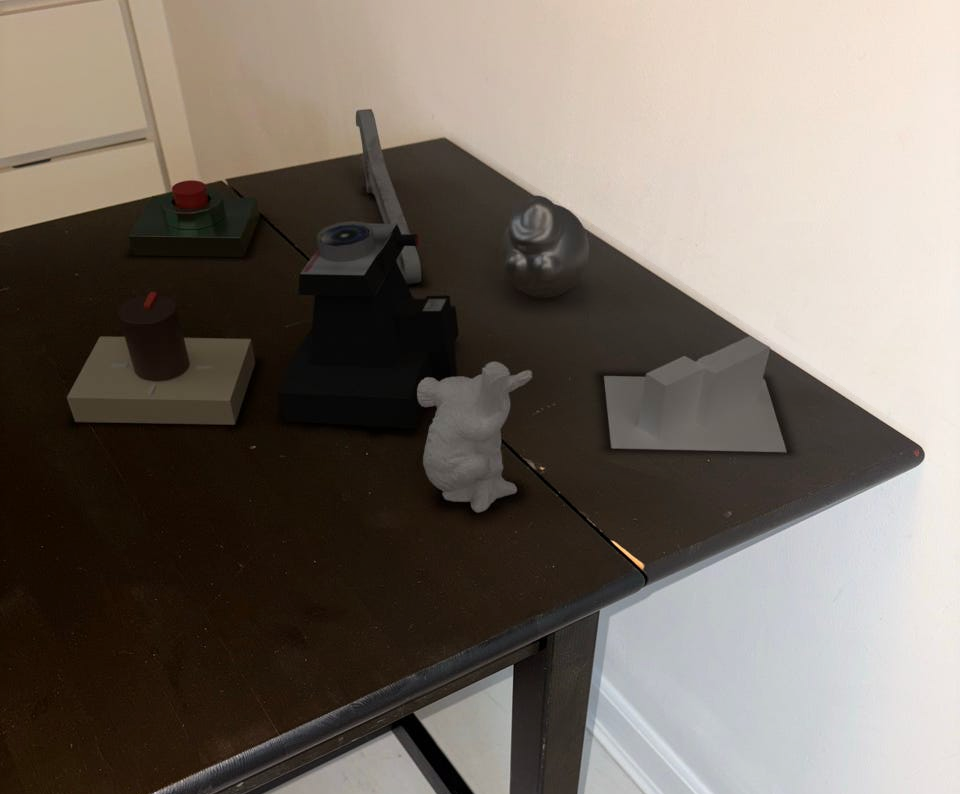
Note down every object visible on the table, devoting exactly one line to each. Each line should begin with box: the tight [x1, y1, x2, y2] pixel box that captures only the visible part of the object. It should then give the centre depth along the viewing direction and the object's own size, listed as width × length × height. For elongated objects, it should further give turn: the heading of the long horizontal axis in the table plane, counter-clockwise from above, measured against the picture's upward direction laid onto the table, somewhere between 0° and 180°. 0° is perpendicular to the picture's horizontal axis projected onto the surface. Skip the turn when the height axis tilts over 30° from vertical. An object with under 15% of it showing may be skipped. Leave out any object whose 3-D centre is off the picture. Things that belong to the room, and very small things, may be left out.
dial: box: [117, 291, 190, 381], centre depth 85 cm, size 5×5×6 cm
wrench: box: [355, 108, 422, 285], centre depth 110 cm, size 8×2×30 cm
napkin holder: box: [603, 335, 788, 453], centre depth 85 cm, size 15×11×6 cm
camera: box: [276, 220, 459, 429], centre depth 85 cm, size 16×14×15 cm
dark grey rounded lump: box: [500, 195, 590, 299], centre depth 98 cm, size 9×10×10 cm
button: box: [171, 179, 209, 208], centre depth 107 cm, size 4×4×2 cm
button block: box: [128, 187, 261, 258], centre depth 109 cm, size 12×10×4 cm
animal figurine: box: [417, 361, 533, 514], centre depth 75 cm, size 8×7×12 cm
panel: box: [66, 336, 256, 426], centre depth 88 cm, size 14×10×3 cm
